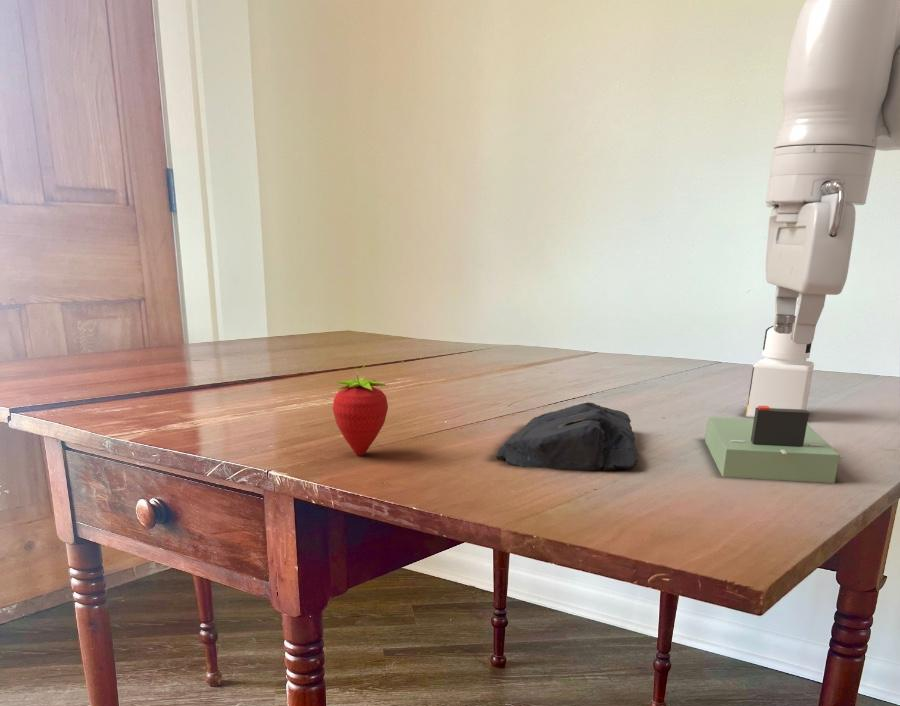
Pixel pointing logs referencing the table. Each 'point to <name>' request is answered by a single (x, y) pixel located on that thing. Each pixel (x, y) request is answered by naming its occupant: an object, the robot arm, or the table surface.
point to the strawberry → (360, 412)
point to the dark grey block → (779, 426)
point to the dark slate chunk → (574, 440)
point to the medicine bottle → (781, 374)
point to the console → (768, 454)
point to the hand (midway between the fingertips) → (791, 338)
